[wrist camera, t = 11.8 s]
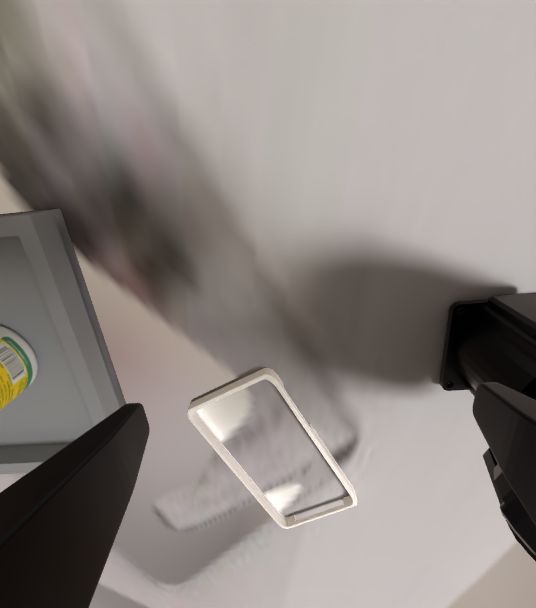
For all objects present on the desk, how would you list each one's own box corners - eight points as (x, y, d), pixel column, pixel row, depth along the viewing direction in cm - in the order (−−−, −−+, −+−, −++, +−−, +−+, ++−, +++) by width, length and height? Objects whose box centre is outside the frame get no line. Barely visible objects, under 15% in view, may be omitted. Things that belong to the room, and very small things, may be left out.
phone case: (187, 400, 25) (282, 515, 29) (182, 413, 23) (282, 531, 28) (271, 360, 23) (357, 489, 28) (270, 372, 22) (360, 505, 27)
